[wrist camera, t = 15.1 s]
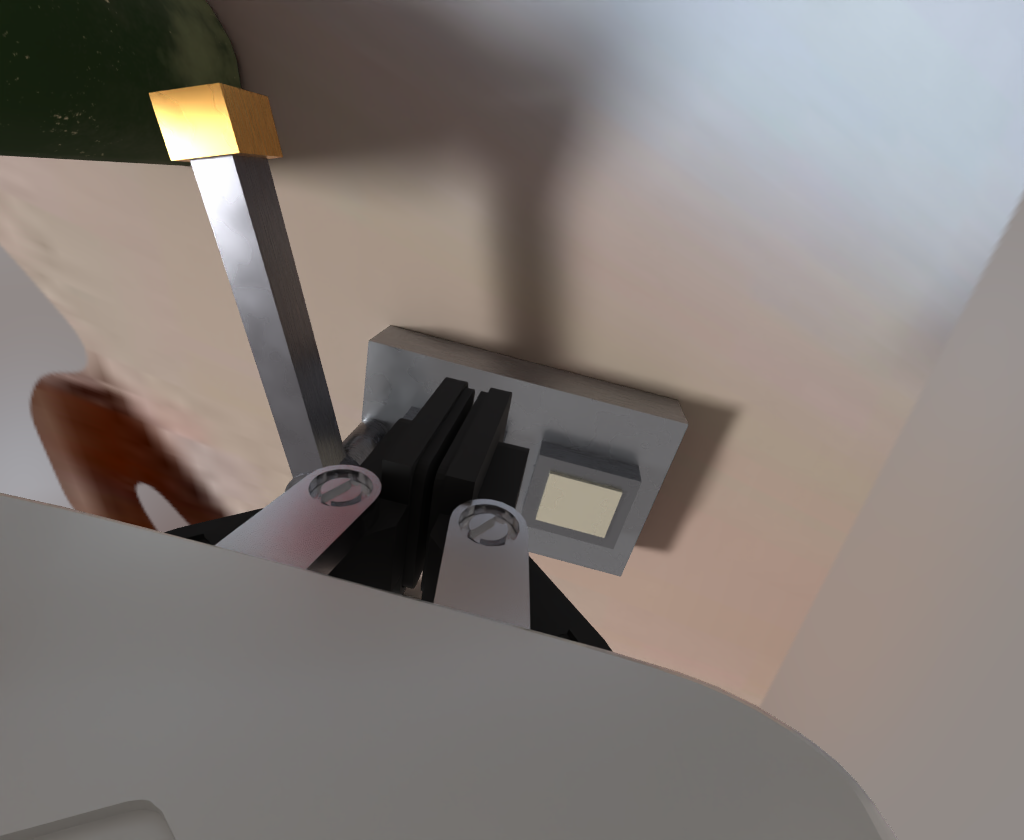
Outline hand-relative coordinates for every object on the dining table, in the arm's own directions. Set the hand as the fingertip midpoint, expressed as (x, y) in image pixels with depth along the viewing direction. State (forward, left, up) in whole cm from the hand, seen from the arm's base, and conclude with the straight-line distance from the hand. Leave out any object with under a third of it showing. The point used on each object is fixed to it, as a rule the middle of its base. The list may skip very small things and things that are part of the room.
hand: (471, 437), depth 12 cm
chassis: (-1, +13, -23) cm, 27 cm away
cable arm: (+12, +4, -14) cm, 19 cm away
